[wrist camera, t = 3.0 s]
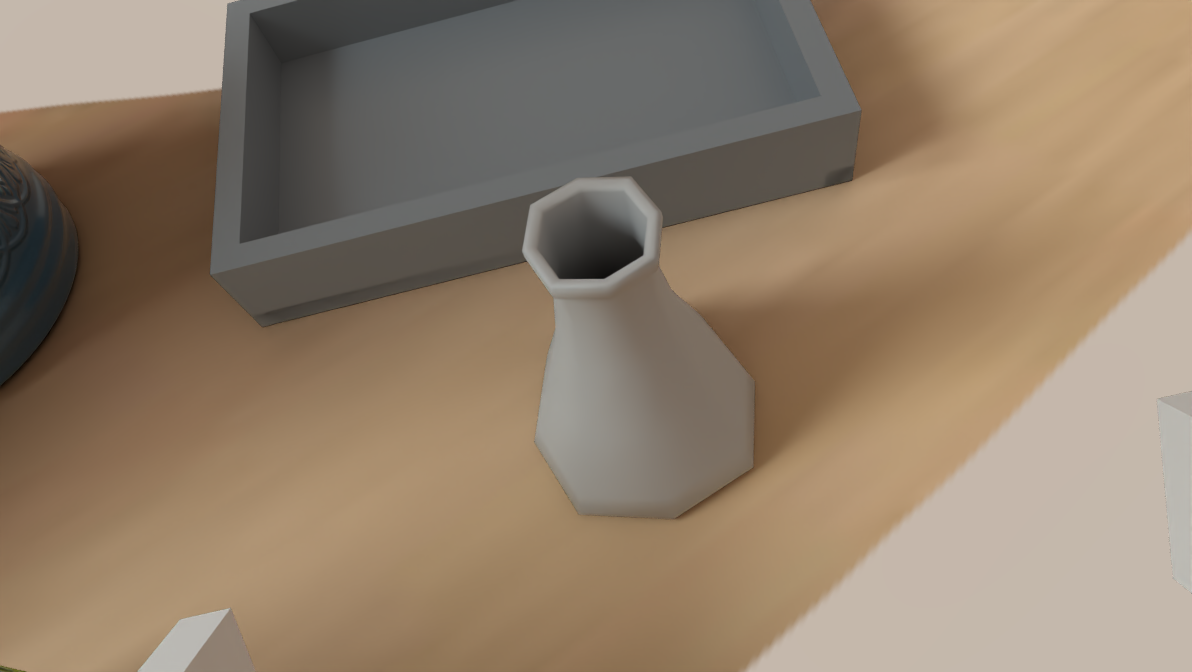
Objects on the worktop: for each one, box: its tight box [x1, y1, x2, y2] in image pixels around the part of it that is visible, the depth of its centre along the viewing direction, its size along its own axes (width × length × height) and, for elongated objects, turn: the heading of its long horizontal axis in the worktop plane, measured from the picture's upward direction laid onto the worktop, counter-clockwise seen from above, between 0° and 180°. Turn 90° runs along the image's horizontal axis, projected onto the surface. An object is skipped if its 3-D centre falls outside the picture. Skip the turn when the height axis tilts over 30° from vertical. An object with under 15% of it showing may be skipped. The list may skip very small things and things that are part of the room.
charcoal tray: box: [210, 0, 861, 327], centre depth 33 cm, size 22×14×4 cm, turn 100°
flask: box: [522, 176, 755, 519], centre depth 23 cm, size 7×7×10 cm
